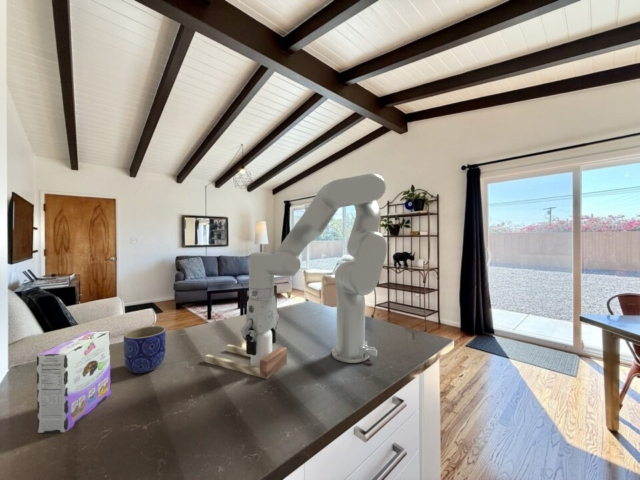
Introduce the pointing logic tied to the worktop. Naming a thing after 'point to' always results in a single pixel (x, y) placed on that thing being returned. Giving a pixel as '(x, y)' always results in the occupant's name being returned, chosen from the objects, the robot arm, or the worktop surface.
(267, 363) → the rail channel
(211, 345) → the worktop surface
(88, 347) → the candy box
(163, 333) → the planter
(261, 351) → the can
